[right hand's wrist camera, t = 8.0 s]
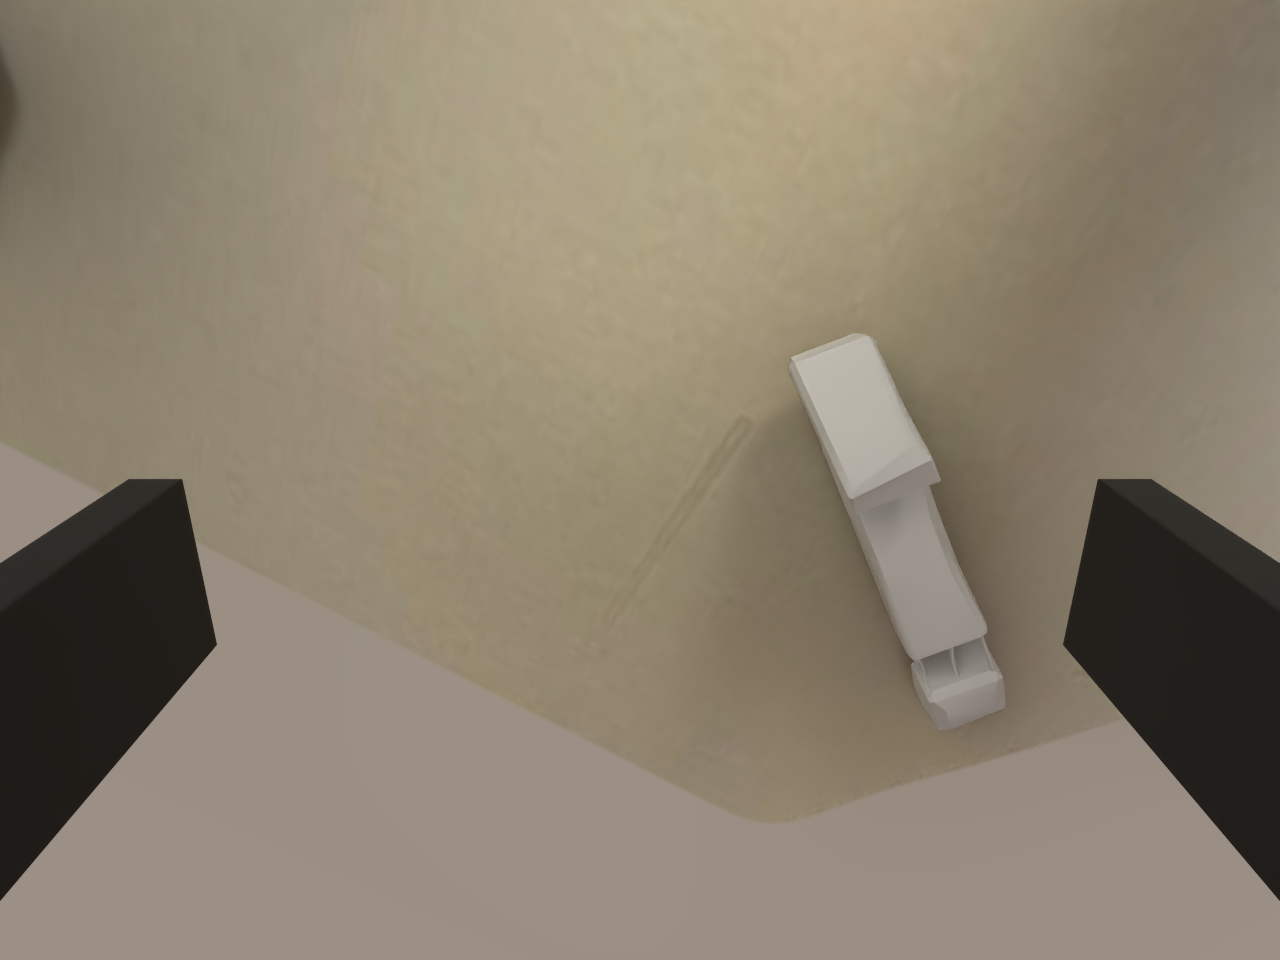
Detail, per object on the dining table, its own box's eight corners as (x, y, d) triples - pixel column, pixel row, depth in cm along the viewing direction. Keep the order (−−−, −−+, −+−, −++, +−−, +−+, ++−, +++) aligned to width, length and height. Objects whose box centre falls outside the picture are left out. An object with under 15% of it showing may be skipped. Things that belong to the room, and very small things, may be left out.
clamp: (776, 352, 36) (810, 414, 30) (860, 315, 36) (912, 370, 29) (910, 685, 45) (958, 786, 39) (980, 660, 44) (1040, 758, 38)
